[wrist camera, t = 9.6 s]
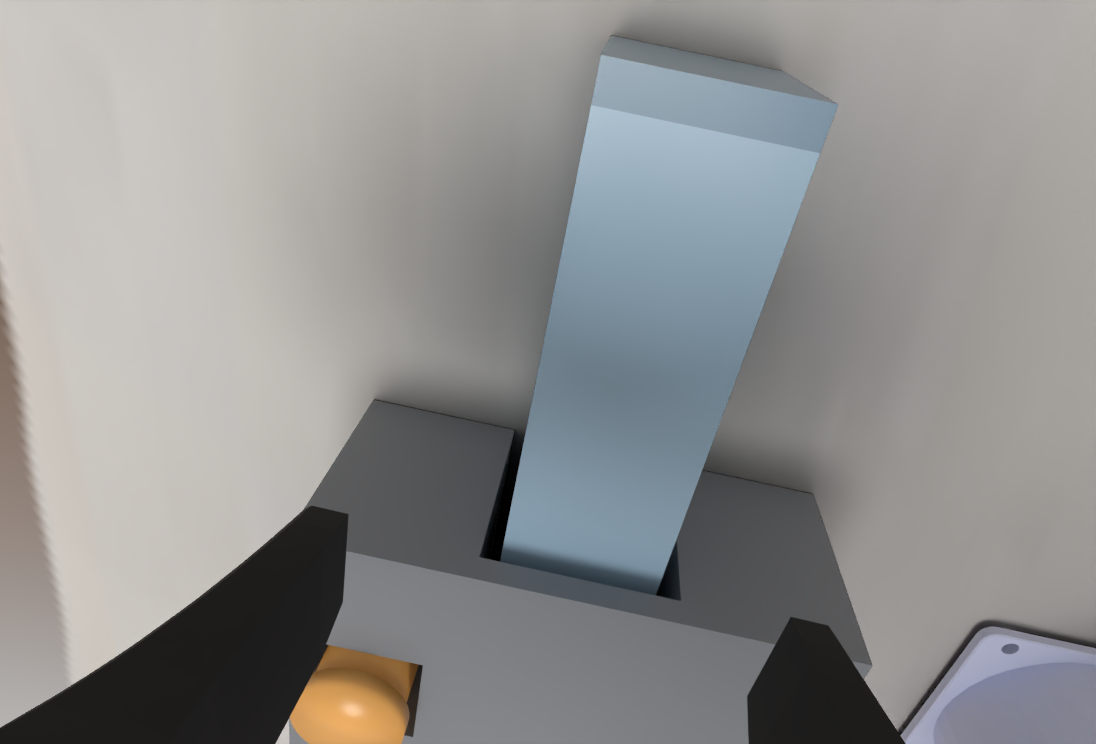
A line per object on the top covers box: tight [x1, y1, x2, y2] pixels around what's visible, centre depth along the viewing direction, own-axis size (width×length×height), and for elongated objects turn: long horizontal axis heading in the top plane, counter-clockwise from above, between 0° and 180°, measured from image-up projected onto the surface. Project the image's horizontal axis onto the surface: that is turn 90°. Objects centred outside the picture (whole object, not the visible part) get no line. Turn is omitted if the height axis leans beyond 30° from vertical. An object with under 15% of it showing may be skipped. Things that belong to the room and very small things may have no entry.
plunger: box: [290, 645, 419, 744], centre depth 20 cm, size 3×3×5 cm
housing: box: [289, 400, 872, 744], centre depth 21 cm, size 14×9×6 cm, turn 80°
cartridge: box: [500, 35, 838, 595], centre depth 17 cm, size 4×13×5 cm, turn 170°
